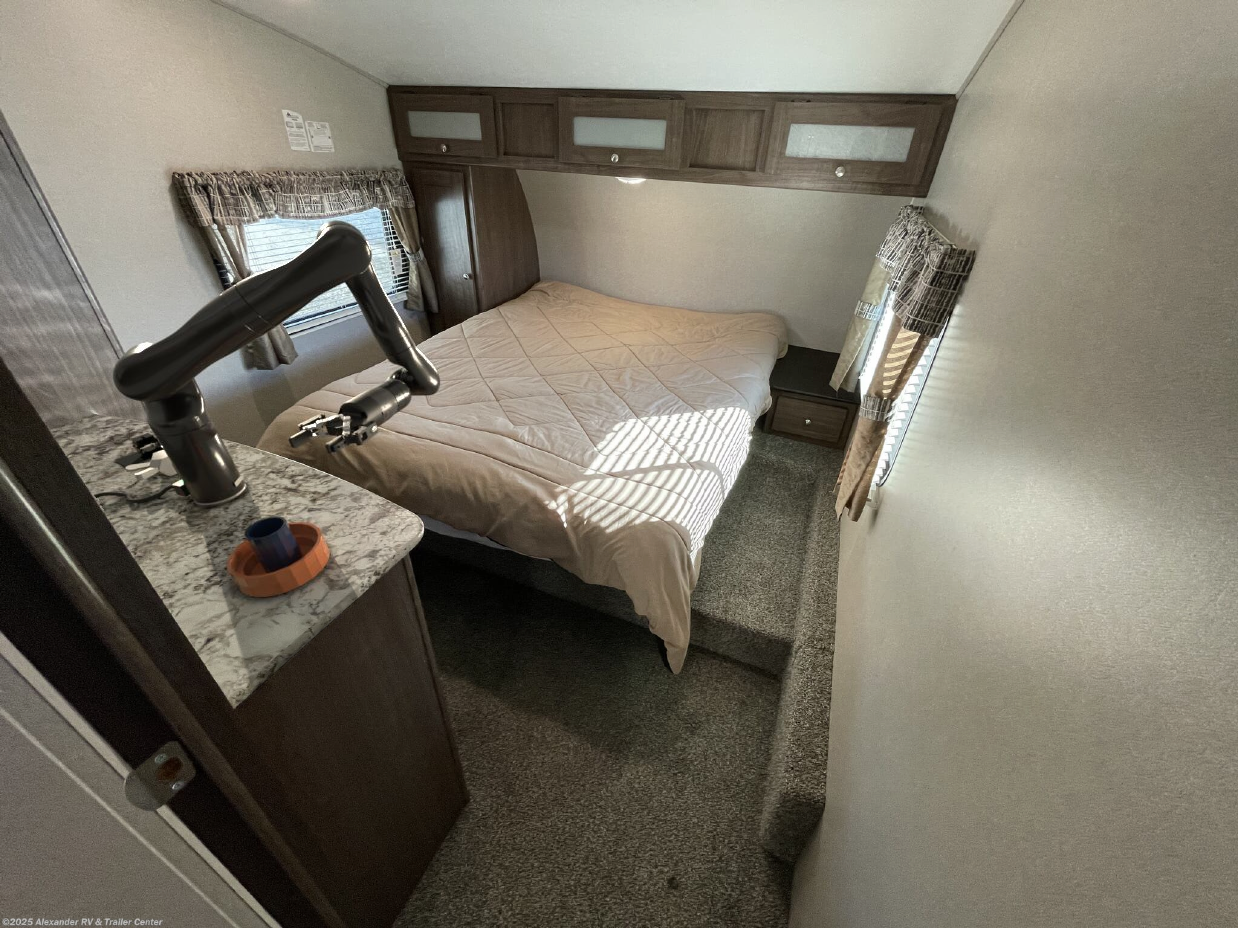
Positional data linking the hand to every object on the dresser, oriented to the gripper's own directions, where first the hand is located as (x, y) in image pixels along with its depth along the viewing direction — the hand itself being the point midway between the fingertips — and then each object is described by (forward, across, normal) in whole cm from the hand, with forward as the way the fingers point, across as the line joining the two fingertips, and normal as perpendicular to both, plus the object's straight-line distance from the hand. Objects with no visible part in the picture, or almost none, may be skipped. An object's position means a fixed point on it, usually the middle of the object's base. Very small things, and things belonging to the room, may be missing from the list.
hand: (309, 447), depth 91 cm
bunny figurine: (-4, -51, +17) cm, 54 cm away
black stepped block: (-9, -66, +17) cm, 69 cm away
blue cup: (+15, +2, +16) cm, 22 cm away
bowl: (+15, +2, +17) cm, 22 cm away
